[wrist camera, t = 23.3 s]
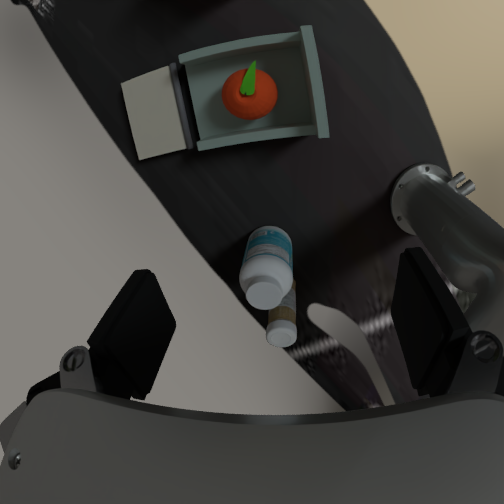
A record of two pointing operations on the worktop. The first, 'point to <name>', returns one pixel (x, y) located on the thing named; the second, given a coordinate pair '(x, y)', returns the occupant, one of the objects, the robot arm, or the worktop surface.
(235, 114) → the clementine
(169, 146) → the panel
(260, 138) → the grey-green open bin
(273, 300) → the pill bottle
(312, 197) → the worktop surface
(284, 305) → the sprinkles bottle
